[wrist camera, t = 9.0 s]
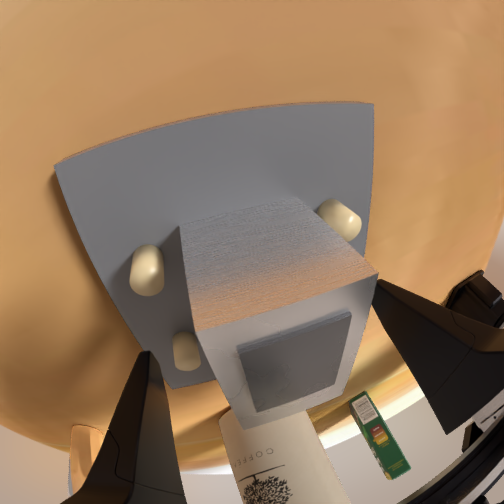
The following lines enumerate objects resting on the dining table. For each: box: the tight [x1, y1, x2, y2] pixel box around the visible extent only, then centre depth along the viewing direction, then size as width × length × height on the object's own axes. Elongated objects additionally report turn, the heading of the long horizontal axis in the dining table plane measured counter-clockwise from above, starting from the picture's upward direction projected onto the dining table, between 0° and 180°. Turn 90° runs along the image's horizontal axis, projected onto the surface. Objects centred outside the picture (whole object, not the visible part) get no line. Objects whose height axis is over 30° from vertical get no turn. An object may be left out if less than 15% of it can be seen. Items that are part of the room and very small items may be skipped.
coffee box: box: [348, 391, 411, 480], centre depth 25 cm, size 8×3×13 cm, turn 23°
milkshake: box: [68, 425, 103, 498], centre depth 14 cm, size 4×5×10 cm
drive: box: [179, 197, 378, 430], centre depth 10 cm, size 7×4×5 cm, turn 8°
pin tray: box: [54, 102, 374, 389], centre depth 12 cm, size 14×12×2 cm
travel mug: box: [219, 409, 351, 504], centre depth 15 cm, size 8×8×18 cm
